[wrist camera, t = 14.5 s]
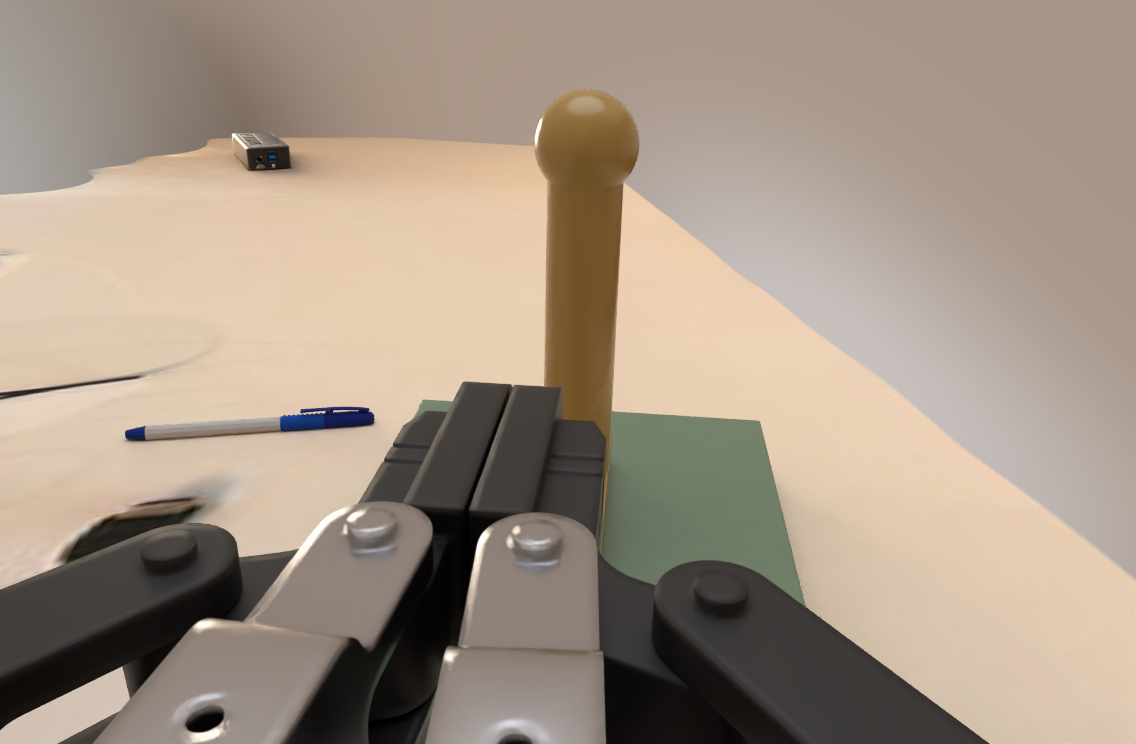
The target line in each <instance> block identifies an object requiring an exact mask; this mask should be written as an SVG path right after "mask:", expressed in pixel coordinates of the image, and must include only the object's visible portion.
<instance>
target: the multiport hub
mask: <svg viewBox="0 0 1136 744" xmlns="http://www.w3.org/2000/svg"><path fill="white" fill-rule="evenodd" d="M232 139H233V147H234V154H235V155H236V156H237V157H238V159H239V160H240V161H241V162H242V163H243V164H244V165H245V166H246V167H247V169H248V170H266V169H282V168H291V162H290V152H289V146H288V145H287V144H285V143H284V142H283V141H282V140H280V139H279V138H278V137H277V136H275V135H274V134H273V133H271V132H251V133H234V134H232Z"/></svg>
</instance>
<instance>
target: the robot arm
mask: <svg viewBox="0 0 1136 744" xmlns="http://www.w3.org/2000/svg"><path fill="white" fill-rule="evenodd" d="M605 459H606V437H605V436H604V435H603V433H602V432H601V430H600V429H599V427H598V426H597V425H596V423H595V422H594V421H581V420H565V419H563V389H562V388H559V387H543V386H526V385H514V387H512V385H511V384H495V383H479V382H463V383H462V384H461V386H460V388H459V390H458V392H457V394H456V397H455V399H454V401H453V403H452V405H451V407H450V409H449V411H448V412H441V411H425V412H424V413H422V414H420V415H419V416H417V417H416V418H414V419H413V420H411V421H410V422H408V423H407V424H405V425H404V426H403V428H402V429H401V431H400V433H399V434H398V436H397V438H396V440H395V441H394V443H393V447H391V448H390V450H389V452H388V453H387V455H386V457H385V458H384V462H382V464H381V465H380V467H379V469H378V470H377V472H376V474H375V476H374V477H373V479H372V481H371V482H370V484H369V486H368V488H367V489H366V491H365V493H364V494H363V496H362V498H361V500H360V501H359V503H358V504H356V505H353V506H349V507H346V508H344V509H341V510H339V511H337V512H335V513H333V514H331V515H330V516H328V517H327V518H326V519H324V520H323V521H322V522H321V523H320V524H319V525H318V526H317V527H316V529H315V530H314V531H313V532H312V534H311V535H310V536H309V538H308V539H307V540H306V542H305V543H304V544H303V545H302V547H301V548H300V549H296V550H292V551H286V552H280V553H272V554H264V555H256V556H248V557H240V558H239V556H238V549H237V543H236V541H235V538H234V537H233V536H232V535H231V534H230V533H229V532H228V531H226V530H225V529H222V528H220V527H218V526H214V525H210V524H202V523H184V524H175V525H169V526H165V527H161V528H157V529H154V530H151V531H148V532H145V533H142V534H140V535H137V536H135V537H132V538H130V539H127V540H125V541H122V542H120V543H117V544H115V545H112V546H110V547H107V548H105V549H102V550H100V551H97V552H94V553H92V554H89V555H87V556H84V557H82V558H79V559H77V560H74V561H72V562H69V563H67V564H64V565H62V566H59V567H57V568H54V569H52V570H49V571H47V572H44V573H41V574H39V575H36V576H34V577H31V578H29V579H26V580H24V581H21V582H19V583H16V584H14V585H11V586H9V587H6V588H4V589H1V590H0V730H1V729H2V728H3V727H4V726H6V725H7V724H8V723H10V722H11V721H13V720H14V719H16V718H18V717H20V716H22V715H24V714H26V713H28V712H30V711H32V710H34V709H36V708H38V707H40V706H42V705H44V704H46V703H48V702H50V701H52V700H54V699H56V698H58V697H60V696H63V695H65V694H67V693H69V692H71V691H73V690H75V689H77V688H79V687H81V686H83V685H85V684H87V683H89V682H91V681H93V680H95V679H97V678H99V677H101V676H103V675H105V674H107V673H109V672H111V671H114V670H116V669H118V668H120V667H122V666H123V671H124V675H125V679H126V684H127V688H128V692H129V696H130V700H129V701H128V703H127V704H126V705H125V706H124V707H123V708H122V710H121V711H119V712H117V713H115V714H113V715H111V716H110V717H108V718H106V719H104V720H102V721H100V722H98V723H96V724H94V725H92V726H90V727H89V728H87V729H85V730H83V731H81V732H79V733H77V734H75V735H73V736H71V737H69V738H67V739H66V740H64V741H62V742H60V743H58V744H989V743H988V742H986V741H985V740H984V739H982V738H981V737H980V736H978V735H977V734H976V733H974V732H973V731H972V730H970V729H969V728H968V727H966V726H965V725H964V724H962V723H961V722H960V721H958V720H957V719H956V718H954V717H953V716H952V715H950V714H949V713H947V712H946V711H945V710H943V709H942V708H941V707H939V706H938V705H937V704H935V703H934V702H933V701H931V700H930V699H929V698H927V697H926V696H925V695H923V694H922V693H921V692H919V691H918V690H917V689H915V688H914V687H913V686H911V685H910V684H908V683H907V682H906V681H904V680H903V679H902V678H900V677H899V676H898V675H896V674H895V673H894V672H892V671H891V670H890V669H888V668H887V667H886V666H884V665H883V664H882V663H880V662H879V661H878V660H876V659H875V658H874V657H872V656H871V655H869V654H868V653H867V652H865V651H864V650H863V649H861V648H860V647H859V646H857V645H856V644H855V643H853V642H852V641H851V640H849V639H848V638H847V637H845V636H844V635H843V634H841V633H840V632H839V631H837V630H836V629H835V628H833V627H832V626H830V625H829V624H828V623H826V622H825V621H824V620H822V619H821V618H820V617H818V616H817V615H816V614H814V613H813V612H812V611H810V610H809V609H808V608H806V607H805V606H804V605H802V604H801V603H800V602H798V601H797V600H796V599H794V598H793V597H791V596H790V595H789V594H787V593H786V592H785V591H783V590H782V589H781V588H779V587H778V586H777V585H775V584H774V583H773V582H771V581H770V580H769V579H767V578H766V577H764V576H763V575H761V574H760V573H758V572H756V571H754V570H752V569H750V568H747V567H744V566H741V565H738V564H734V563H730V562H725V561H718V560H699V561H692V562H687V563H684V564H681V565H678V566H676V567H674V568H672V569H670V570H669V571H667V572H666V573H665V574H663V576H662V577H661V578H660V579H659V581H658V583H657V585H654V584H651V583H647V582H644V581H641V580H638V579H635V578H633V577H630V576H628V575H626V574H624V573H622V572H620V571H619V570H617V569H616V568H614V567H613V566H611V565H610V564H609V563H608V562H607V561H606V560H605V559H604V558H603V557H602V555H601V554H600V544H601V534H602V523H603V502H604V480H605Z"/></svg>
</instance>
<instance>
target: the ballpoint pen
mask: <svg viewBox="0 0 1136 744" xmlns="http://www.w3.org/2000/svg"><path fill="white" fill-rule="evenodd" d="M329 410H330V412H329ZM333 410H359V411H347V412H333ZM315 411H326V413H324V414H322V413H320V414H318V413H315V414H311V415H309V414H306V415H304V414H302V415H299V414H298V415H296V416H295V415H292V416H290V415H288V416H286V415H283V416H281V417H272V418H257V419H242V420H227V421H212V422H197V423H182V424H167V425H152V426H144V427H139V428H135V429H130V430H126V432H125V437H126V439H136V440H157V439H171V438H186V437H200V436H214V435H228V434H243V433H257V432H271V431H291V430H293V431H295V430H305V429H307V430H309V429H319V428H321V429H323V428H340V427H353V426H362V425H369V424H372V423H373V422H374V414H373V413H372V412H368V411H369V408H362V407H328V408H314V409H301V413H306V412H315Z"/></svg>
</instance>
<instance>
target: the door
mask: <svg viewBox="0 0 1136 744" xmlns="http://www.w3.org/2000/svg"><path fill="white" fill-rule="evenodd" d="M452 403H453V401H437V400H422V402H421V404H420V406H419V407H418V409H417V411H416V413H415V414H414V416H413V418H412V420H413V419H414V418H416V417H417V416H419V415H420V414H422V413H424V412H425V411H441V412H448V411H449V409H450V407H451V405H452ZM611 431H612V447H611V463H610V474H609V484H608V495H607V506H606V516H605V527H604V538H603V548H602V557H603V558H604V559H605V560H606V561H607V562H608V563H609V564H610V565H611V566H613V567H614V568H616V569H617V570H619V571H620V572H622V573H624V574H626V575H628V576H630V577H633V578H635V579H638V580H641V581H644V582H647V583H651V584H654V585H657V583H658V581H659V579H660V578H661V577H662V576H663V574H665V573H666V572H667V571H669V570H670V569H672V568H674V567H676V566H678V565H681V564H684V563H687V562H692V561H699V560H718V561H725V562H730V563H734V564H738V565H741V566H744V567H747V568H750V569H752V570H754V571H756V572H758V573H760V574H761V575H763V576H764V577H766V578H767V579H769V580H770V581H771V582H773V583H774V584H775V585H777V586H778V587H779V588H781V589H782V590H783V591H785V592H786V593H787V594H789V595H790V596H791V597H793V598H794V599H796V600H797V601H798V602H800V603H801V604H802V605H804V606H805V603H804V599H803V595H802V591H801V587H800V582H799V578H798V574H797V570H796V566H795V562H794V558H793V554H792V550H791V546H790V542H789V538H788V534H787V530H786V526H785V521H784V517H783V513H782V509H781V505H780V501H779V497H778V493H777V489H776V485H775V481H774V477H773V473H772V469H771V465H770V460H769V456H768V452H767V448H766V444H765V440H764V436H763V432H762V428H761V424H760V421H754V420H738V419H723V418H707V417H691V416H675V415H659V414H643V413H627V412H612V415H611Z"/></svg>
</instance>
